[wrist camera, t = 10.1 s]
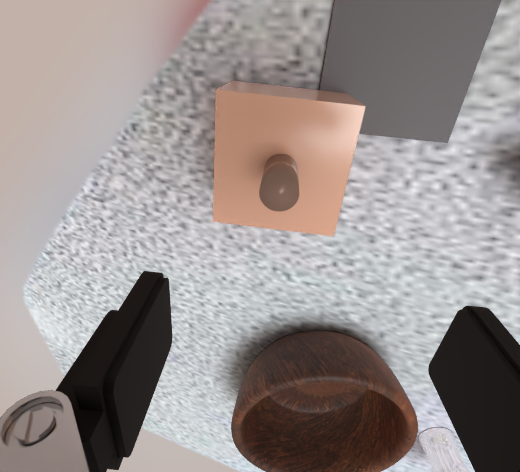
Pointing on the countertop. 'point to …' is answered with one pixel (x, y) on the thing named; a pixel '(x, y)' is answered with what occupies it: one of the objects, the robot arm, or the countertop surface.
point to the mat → (406, 61)
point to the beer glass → (442, 450)
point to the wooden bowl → (322, 407)
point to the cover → (283, 155)
